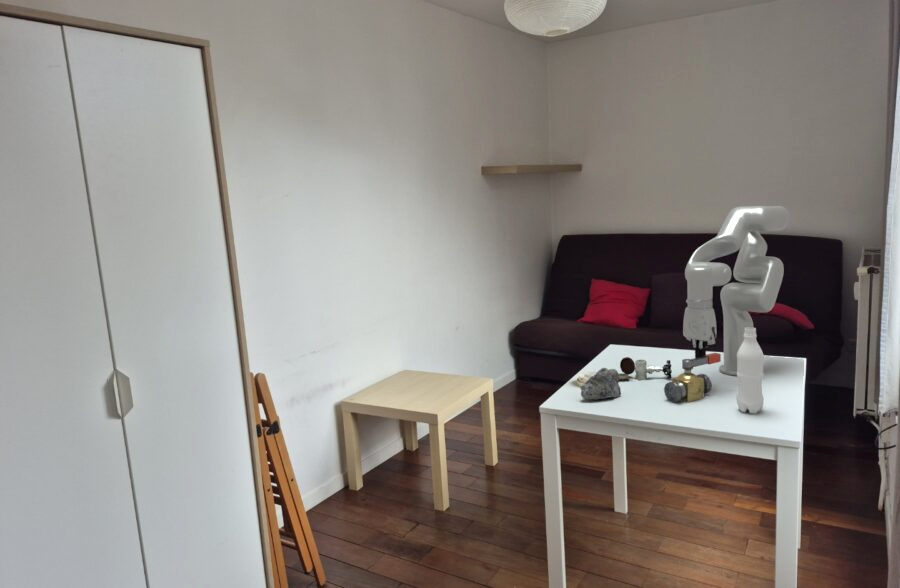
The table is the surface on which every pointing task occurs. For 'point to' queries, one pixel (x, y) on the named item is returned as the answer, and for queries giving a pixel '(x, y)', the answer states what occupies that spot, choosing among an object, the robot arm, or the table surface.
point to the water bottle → (750, 373)
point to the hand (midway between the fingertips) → (700, 359)
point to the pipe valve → (687, 387)
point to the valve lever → (701, 361)
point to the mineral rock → (601, 385)
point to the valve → (650, 369)
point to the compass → (626, 368)
